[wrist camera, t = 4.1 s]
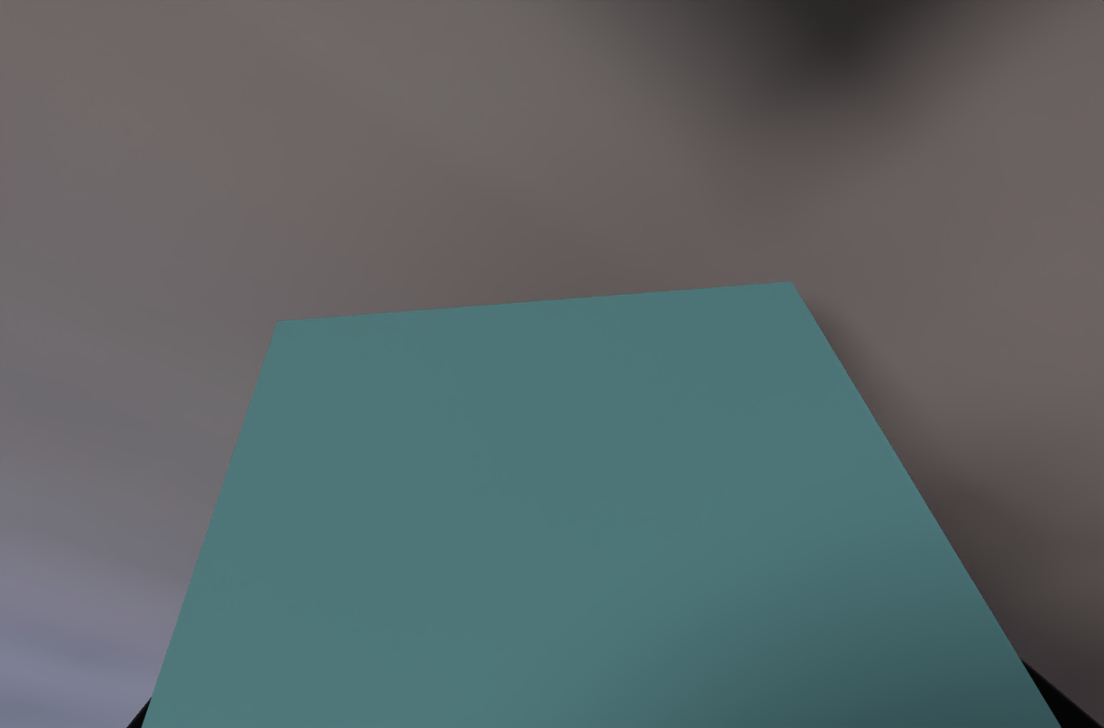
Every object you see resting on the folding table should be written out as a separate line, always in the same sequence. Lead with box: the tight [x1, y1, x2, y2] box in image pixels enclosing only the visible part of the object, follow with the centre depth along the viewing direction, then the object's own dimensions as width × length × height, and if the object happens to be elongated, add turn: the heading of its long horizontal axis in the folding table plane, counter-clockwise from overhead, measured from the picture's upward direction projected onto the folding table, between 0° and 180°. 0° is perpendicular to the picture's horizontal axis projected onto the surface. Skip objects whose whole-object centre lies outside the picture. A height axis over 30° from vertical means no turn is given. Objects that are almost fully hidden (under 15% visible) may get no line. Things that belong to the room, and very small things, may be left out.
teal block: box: [142, 282, 1061, 728], centre depth 8 cm, size 5×5×5 cm
